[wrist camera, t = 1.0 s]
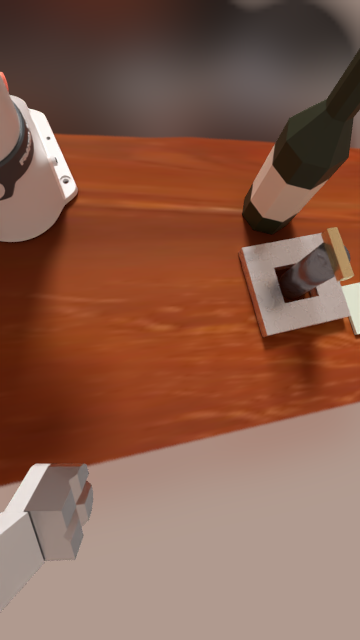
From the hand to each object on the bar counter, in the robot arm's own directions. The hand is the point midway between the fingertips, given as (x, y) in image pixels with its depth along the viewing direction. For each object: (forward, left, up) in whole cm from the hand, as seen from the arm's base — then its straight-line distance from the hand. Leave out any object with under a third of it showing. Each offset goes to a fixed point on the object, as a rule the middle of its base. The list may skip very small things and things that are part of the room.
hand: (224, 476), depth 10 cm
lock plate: (-13, +25, -38) cm, 47 cm away
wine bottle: (-26, +25, -38) cm, 53 cm away
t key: (-13, +25, -38) cm, 47 cm away
